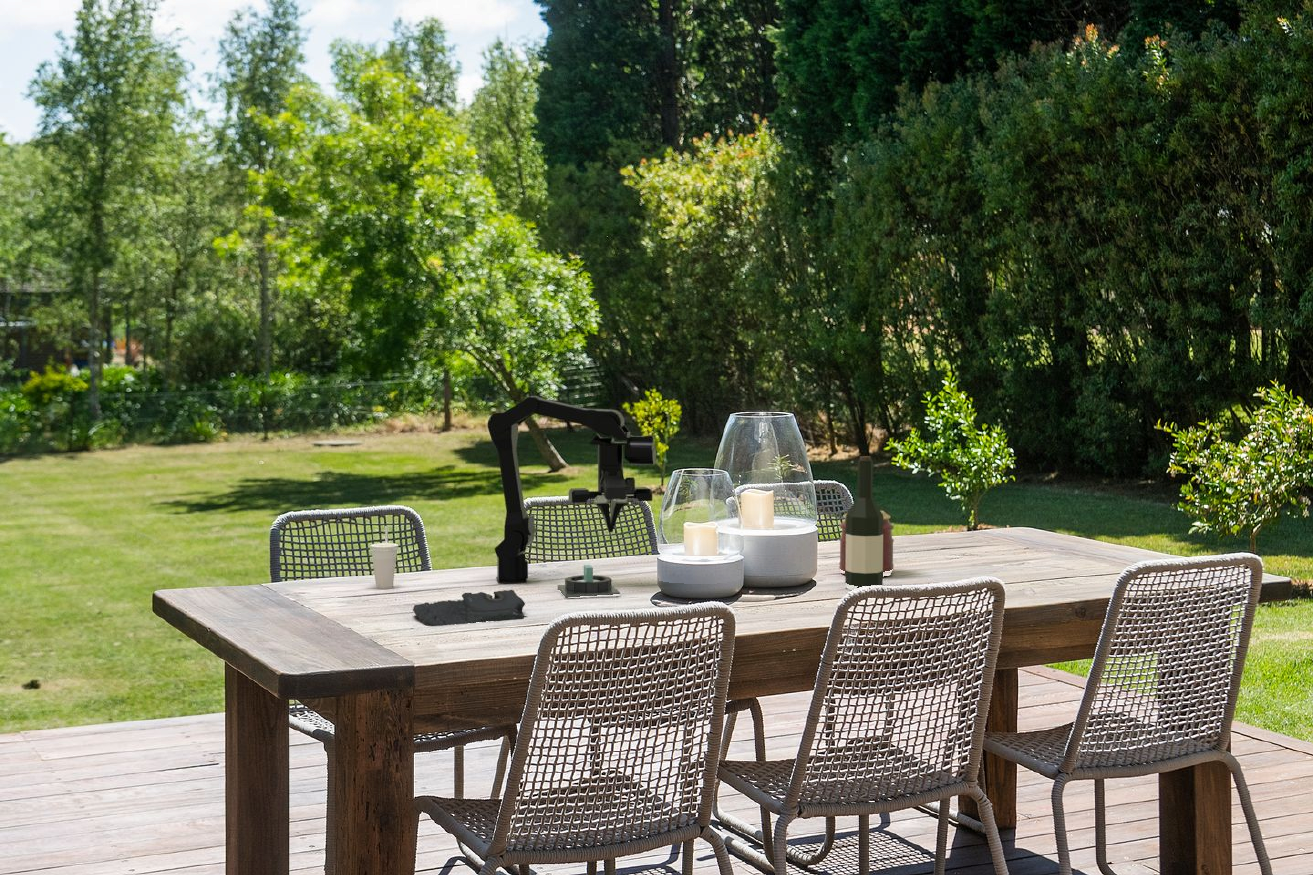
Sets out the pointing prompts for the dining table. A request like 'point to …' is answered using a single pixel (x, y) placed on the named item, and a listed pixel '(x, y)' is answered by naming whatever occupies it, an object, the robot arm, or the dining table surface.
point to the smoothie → (384, 562)
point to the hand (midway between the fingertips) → (610, 532)
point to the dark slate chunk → (472, 609)
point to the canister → (886, 544)
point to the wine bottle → (864, 532)
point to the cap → (588, 574)
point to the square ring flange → (587, 586)
